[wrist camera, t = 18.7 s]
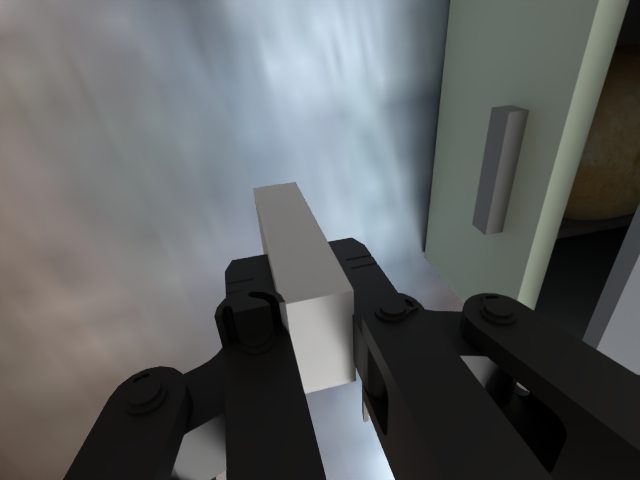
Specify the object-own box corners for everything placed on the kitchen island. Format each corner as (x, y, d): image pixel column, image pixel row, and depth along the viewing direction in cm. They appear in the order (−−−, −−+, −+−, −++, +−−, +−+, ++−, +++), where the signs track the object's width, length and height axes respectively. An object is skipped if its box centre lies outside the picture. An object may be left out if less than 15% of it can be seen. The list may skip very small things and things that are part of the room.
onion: (464, 189, 21) (560, 256, 15) (517, 29, 17) (673, 32, 11) (577, 195, 23) (701, 255, 17) (646, 52, 19) (837, 64, 13)
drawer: (412, 259, 24) (488, 353, 17) (437, -48, 16) (598, -101, 9) (603, 224, 26) (737, 295, 19) (710, -60, 18) (1003, -110, 11)
